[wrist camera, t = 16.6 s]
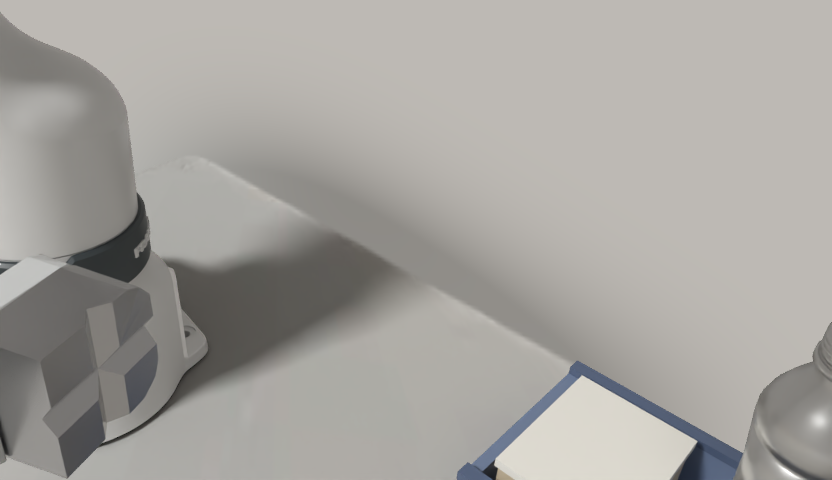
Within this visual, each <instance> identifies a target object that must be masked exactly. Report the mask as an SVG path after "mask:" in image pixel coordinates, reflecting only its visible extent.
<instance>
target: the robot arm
mask: <svg viewBox="0 0 832 480" xmlns="http://www.w3.org/2000/svg"><path fill="white" fill-rule="evenodd" d="M149 235H150V225H149V220H148V216H146V211H145V205H144V202H143V200H142V198H141V197H140V195H139V194H138V193H137V191H136V183H135V175H134V167H133V159H132V150H131V142H130V135H129V126H128V117H127V110H126V106H125V104H124V101H123V99H122V97H121V95H120V94H119V92H118V90H117V89H116V88H115V86H114V85H113V84H112V82H111V81H110V80H109V79H108V78H107V77H106V76H104V74H102V73H101V72H100V71H99V70H97V69H96V68H95V67H93V66H92V65H90V64H89V63H87V62H86V61H84V60H83V59H81V58H79V57H77V56H75V55H73V54H70V53H68V52H66V51H63V50H60V49H58V48H55V47H53V46H50V45H48V44H45V43H43V42H40V41H38V40H36V39H34V38H32V37H30V36H28V35H27V34H25V33H23V32H22V31H20V30H19V29H18V28H16V27H15V26H14V25H13V24H12V23H10V22H9V21H8V20H7V19H6V18H5V17H4V16H3V15H2V14H1V13H0V464H2V463H4V462H6V460H7V459H6V457H8V458H11V459H13V460H16V461H19V462H22V463H25V464H27V465H30V466H33V467H36V468H39V469H41V470H44V471H47V472H50V473H53V474H56V475H58V476H61V477H64V478H68V477H69V476H70V475H71V474H72V473H73V472H74V471H75V470H76V469H77V468H78V467H79V466H80V465H81V464H82V463H83V462H84V461H85V460H86V459H87V458H88V457H89V456H90V455H91V454H92V453H93V452H94V451H95V450H96V448H97V447H98V446H99V445H100V444H101V443H103V442H106V441H109V440H112V439H114V438H116V437H119V436H121V435H123V434H125V433H127V432H129V431H131V430H132V429H134V428H136V427H138V426H139V425H141V424H142V423H144V422H145V421H147V420H148V419H149V418H150V417H152V416H153V415H154V414H155V413H156V412H158V411H159V410H160V409H161V408H162V407H163V406H164V404H165V403H166V402H167V401H168V400H169V398H170V397H171V396H172V394H173V392H174V391H175V389H176V387H177V385H178V383H179V381H180V379H181V378H182V376H183V374H184V373H185V372H186V371H187V370H188V369H190V368H191V367H192V366H193V365H195V364H196V363H197V362H198V361H199V360H201V359H202V358H203V357H204V356H205V355H206V353H207V351H208V344H207V339H206V337H205V335H204V334H203V333H202V332H201V330H200V329H199V328H198V327H197V326H196V325H195V323H194V322H193V321H192V320H191V319H190V318H189V317H188V315H187V314H186V313H185V312H184V311H183V310H182V308H181V306H180V300H179V293H178V286H177V280H176V275H175V272H174V269H173V268H170V267H167V265H166V263H165V262H164V261H163V259H161V258H160V257H159V256H158V255H157V254H155V253H154V252H153V251H152V250H151V246H150V236H149Z"/></svg>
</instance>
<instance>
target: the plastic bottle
mask: <svg viewBox="0 0 832 480" xmlns="http://www.w3.org/2000/svg"><path fill="white" fill-rule="evenodd" d="M733 480H832V322H831V323H830V325H829V326H828V328H827V331H826V332H825V335H824V337H823V339H822V340H821V341H820V342H819V343H818V344H817V346H816V348H815V350H814V352H813V362H810V363H807V364H804V365H801V366H799V367H796V368H794V369H792V370H790V371H787V372H785V373H783V374H781V375H780V376H778V377H777V378H775V379H774V380H773V381H772V382H771V383H770V384H769V385H768V386H767V387H766V388H765V389H764V390H763V391H762V393H761V394H760V396H759V399H758V402H757V404H756V407H755V410H754V414H753V418H752V422H751V426H750V430H749V434H748V438H747V442H746V445H745V450H744V453H743V455H742V458H741V460H740V463H739V465H738V468H737V470H736V474H735V476H734V478H733Z"/></svg>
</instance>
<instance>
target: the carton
mask: <svg viewBox="0 0 832 480" xmlns="http://www.w3.org/2000/svg"><path fill="white" fill-rule="evenodd" d="M697 442H698V441H696V440H695V439H693V438H691V437H689V436H688V435H686V434H684V433H682V432H681V431H679V430H677V429H675V428H674V427H672V426H670V425H668V424H667V423H665V422H663V421H661V420H660V419H658V418H656V417H654V416H653V415H651V414H649V413H647V412H646V411H644V410H642V409H640V408H639V407H637V406H635V405H633V404H632V403H630V402H628V401H626V400H625V399H623V398H621V397H619V396H618V395H616V394H614V393H612V392H611V391H609V390H607V389H605V388H604V387H602V386H600V385H598V384H597V383H595V382H593V381H591V380H590V379H588V378H586V377H584V376H581V377H580V378H579V379H578V380H577V381H576V382H575V383H574V384H573V385H571V386H570V387H569V388H568V389H567V390H566V391H565V392H564V393H563V394H562V395H561V396H560V397H559V398H558V399H557V400H556V401H555V402H554V403H553V404H552V405H551V406H550V407H549V408H548V409H547V410H546V411H544V412H543V413H542V414H541V415H540V416H539V417H538V418H537V419H536V420H535V421H534V422H533V423H532V424H531V425H530V426H529V427H528V428H527V429H526V430H525V431H524V432H523V433H522V434H521V435H520V436H519V437H517V438H516V439H515V440H514V441H513V442H512V443H511V444H510V445H509V446H508V447H507V448H506V449H505V450H504V451H503V452H502V453H501V454H500V455H499V456H498V457H497V458H496V459H495V464H494V466H496V467H497V468H498V471H497V476H496V480H678V477H679V475H680V473H681V470H682V468H683V465H684V463H685V461H686V459H687V458H688V457H689V455H690V454H691V452H692V451H693V450H694V448H695V446H696V444H697Z"/></svg>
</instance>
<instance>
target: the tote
mask: <svg viewBox="0 0 832 480" xmlns="http://www.w3.org/2000/svg"><path fill="white" fill-rule="evenodd" d="M581 376H584V377H586V378H588V379H590V380H591V381H593V382H595V383H597V384H598V385H600V386H602V387H604V388H605V389H607V390H609V391H611V392H612V393H614V394H616V395H618V396H619V397H621V398H623V399H625V400H626V401H628V402H630V403H632V404H633V405H635V406H637V407H639V408H640V409H642V410H644V411H646V412H647V413H649V414H651V415H653V416H654V417H656V418H658V419H660V420H661V421H663V422H665V423H667V424H668V425H670V426H672V427H674V428H675V429H677V430H679V431H681V432H682V433H684V434H686V435H688V436H689V437H691V438H693V439H695V440H696V441H698V442H697V444H696V446H695V448H694V450H693V451H692V452H691V454H690V455H689V457H688V458H687V459H686V461H685V463H684V465H683V468H682V470H681V473H680V475H679V477H678V480H733V478H734V476H735V474H736V470H737V468H738V465H739V463H740V460H741V458H742V455H743V453H741V452H740V451H738V450H736V449H734V448H732V447H731V446H729V445H727V444H725V443H723V442H722V441H720V440H718V439H716V438H715V437H713V436H711V435H709V434H707V433H706V432H704V431H702V430H700V429H698V428H697V427H695V426H693V425H691V424H690V423H688V422H686V421H684V420H682V419H681V418H679V417H677V416H675V415H674V414H672V413H670V412H668V411H666V410H665V409H663V408H661V407H659V406H658V405H656V404H654V403H652V402H650V401H649V400H647V399H645V398H643V397H641V396H640V395H638V394H636V393H634V392H633V391H631V390H629V389H627V388H625V387H624V386H622V385H620V384H618V383H617V382H615V381H613V380H611V379H609V378H608V377H606V376H604V375H602V374H601V373H598V372H597V371H595V370H593V369H592V368H590V367H588V366H586V365H585V364H583V363H581V362H579V361H576V362H575V363H574V364H573V365H572V366H571V367H570V371H569V374H568V375H567V376H565V377H564V378H563V379H562V380H561V381H560V382H559V383H558V384H557V385H556V386H555V387H554V388H553V389H552V390H550V391H549V392H548V393H547V394H546V395H545V396H544V397H543V398H542V399H541V400H540V401H539V402H538V403H537V404H536V405H534V406H533V407H532V408H531V409H530V410H529V411H528V412H527V413H526V414H525V415H524V416H523V417H522V418H521V419H520V420H518V421H517V422H516V423H515V424H514V425H513V426H512V427H511V428H510V429H509V430H508V431H507V432H506V433H505V434H504V435H502V436H501V437H500V438H499V439H498V440H497V441H496V442H495V443H494V444H493V445H492V446H491V447H490V448H489V449H488V450H486V451H485V452H484V453H483V454H482V455H481V456H480V457H479V458H478V459H477V460H476V461H475V462H474V463H473V464H472V465H471V464H470V463H467V464H466V465H464V466H463V467H462V468H461V469H460V470H459V471H458V473H457V480H496V476H497V471H498V468H497V467H496V466H494V464H495V459H496V458H497V457H498V456H499V455H500V454H501V453H502V452H503V451H504V450H505V449H506V448H507V447H508V446H509V445H510V444H511V443H512V442H513V441H514V440H515V439H516V438H517V437H519V436H520V435H521V434H522V433H523V432H524V431H525V430H526V429H527V428H528V427H529V426H530V425H531V424H532V423H533V422H534V421H535V420H536V419H537V418H538V417H539V416H540V415H541V414H542V413H543V412H544V411H546V410H547V409H548V408H549V407H550V406H551V405H552V404H553V403H554V402H555V401H556V400H557V399H558V398H559V397H560V396H561V395H562V394H563V393H564V392H565V391H566V390H567V389H568V388H569V387H570V386H571V385H573V384H574V383H575V382H576V381H577V380H578V379H579V378H580V377H581Z"/></svg>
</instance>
